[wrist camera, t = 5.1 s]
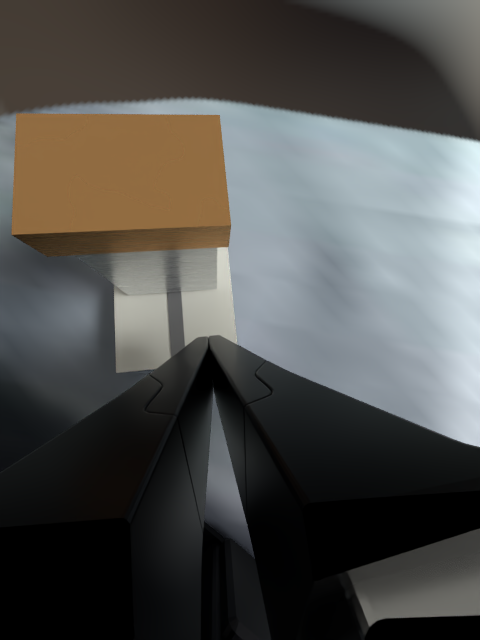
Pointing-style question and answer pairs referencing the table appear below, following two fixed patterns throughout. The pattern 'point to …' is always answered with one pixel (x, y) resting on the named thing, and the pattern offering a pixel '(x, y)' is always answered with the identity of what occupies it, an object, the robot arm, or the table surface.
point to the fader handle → (125, 196)
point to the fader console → (171, 320)
